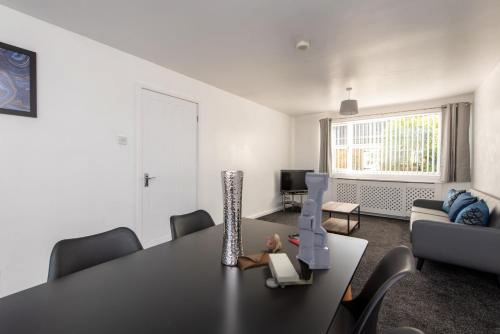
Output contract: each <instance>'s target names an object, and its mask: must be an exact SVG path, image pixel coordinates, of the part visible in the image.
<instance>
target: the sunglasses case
mask: <svg viewBox="0 0 500 334" xmlns="http://www.w3.org/2000/svg"><path fill="white" fill-rule="evenodd" d="M269 254H270V253H269V252H268V251H266V252H261V253H255V254H249V255H248V254H247V255H240V256H237V257H238V259H237V264H236V266H237V267H238V268H239V269H240V270H241V271H245V270H248V269H253V268H259V267H263V266H269Z"/></svg>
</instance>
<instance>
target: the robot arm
mask: <svg viewBox="0 0 500 334" xmlns="http://www.w3.org/2000/svg"><path fill="white" fill-rule="evenodd" d="M304 183H305V185H306V187H307V196H306V197H307V199H305V200H304V201H303V204H302V208H301V213H300V215H299V216H298V217H297V220H296V221H297V225H296V227H297V234H299V246H298V254H297V255H295V256H296V257H295V258H296V259H297V262H298V263H299V266H300V270H301V271H300V272H301V276H302V278H303V280H310V278H311V274H312V271H313V272H314V270H323V269H324V270H325V269H326V270H327V269H330V268H331V267H330V252H329V251H330V249H329V248H328V247H327V245H328V232H327V230H326V229H325V228H324V227H323V226H322V220H323V219H322V216H323V215H322V214H323V199H324V198H323V196H324V193H325V192H326V191H328V188H329V174H328V172H309V171H308V172H306V173H305V179H304ZM328 249H329V250H328Z"/></svg>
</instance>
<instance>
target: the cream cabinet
mask: <svg viewBox="0 0 500 334" xmlns="http://www.w3.org/2000/svg"><path fill="white" fill-rule="evenodd" d="M268 254H269V265H268V266H269V270H270V272H271V276H272V278H275V279H277V280H278V282H293V281H299V280H300V276H299V274H298V272H297V270H296V269H295V267H294V265H293V264H292V262H291V260H290V259H289V257H288V255H287V253H286V252H285V253H268Z"/></svg>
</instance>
